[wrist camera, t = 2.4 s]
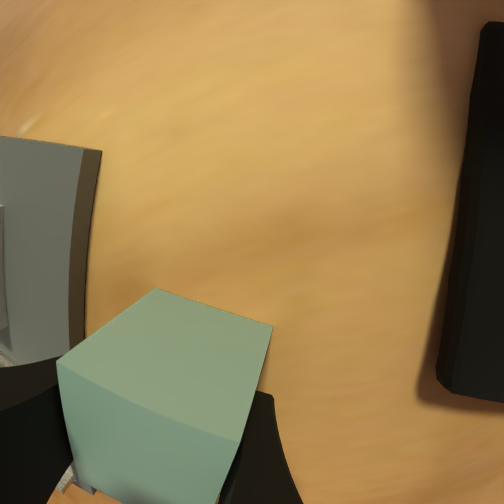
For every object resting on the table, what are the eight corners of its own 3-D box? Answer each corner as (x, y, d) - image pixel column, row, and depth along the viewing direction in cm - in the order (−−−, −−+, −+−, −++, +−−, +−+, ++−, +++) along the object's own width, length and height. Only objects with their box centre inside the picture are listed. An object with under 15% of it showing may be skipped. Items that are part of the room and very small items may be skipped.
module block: (237, 431, 11) (201, 534, 6) (143, 396, 11) (79, 479, 7) (273, 326, 10) (240, 442, 5) (155, 287, 10) (55, 360, 5)
